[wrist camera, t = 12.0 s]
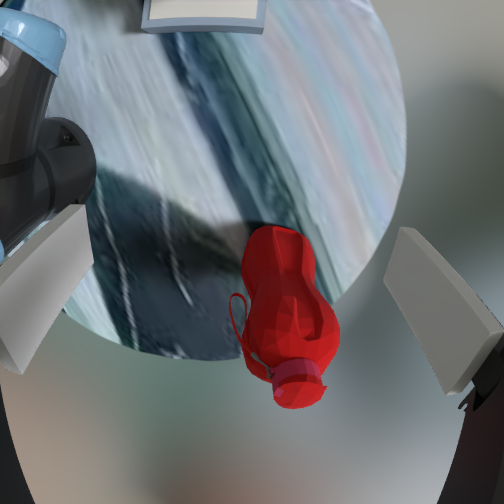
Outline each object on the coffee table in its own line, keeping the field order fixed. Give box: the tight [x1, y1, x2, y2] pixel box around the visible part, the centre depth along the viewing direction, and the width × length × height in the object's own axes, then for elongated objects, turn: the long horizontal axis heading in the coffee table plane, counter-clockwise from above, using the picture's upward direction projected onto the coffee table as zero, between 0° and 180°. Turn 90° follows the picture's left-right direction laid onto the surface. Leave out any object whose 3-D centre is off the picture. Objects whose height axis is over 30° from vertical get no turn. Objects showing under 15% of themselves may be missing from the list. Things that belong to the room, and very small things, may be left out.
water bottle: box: [229, 225, 340, 409], centre depth 34 cm, size 9×11×25 cm
